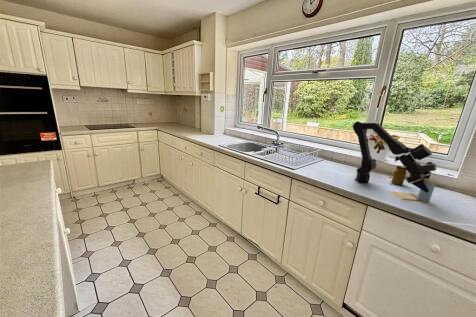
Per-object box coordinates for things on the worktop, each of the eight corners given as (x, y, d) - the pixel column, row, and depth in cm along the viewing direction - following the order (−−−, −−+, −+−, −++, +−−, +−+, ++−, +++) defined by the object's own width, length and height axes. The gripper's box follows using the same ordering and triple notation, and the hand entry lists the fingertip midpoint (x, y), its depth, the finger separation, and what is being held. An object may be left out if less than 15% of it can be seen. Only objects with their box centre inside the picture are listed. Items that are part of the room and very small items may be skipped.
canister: (421, 202, 108) (428, 181, 104) (414, 198, 113) (420, 177, 109) (431, 203, 107) (439, 182, 104) (424, 199, 112) (431, 178, 109)
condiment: (392, 181, 138) (397, 164, 135) (407, 185, 132) (413, 167, 129) (388, 183, 134) (393, 165, 130) (404, 188, 128) (410, 169, 124)
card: (403, 202, 108) (403, 201, 108) (387, 191, 120) (387, 191, 120) (433, 205, 107) (433, 204, 107) (414, 194, 120) (414, 193, 119)
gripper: (421, 159, 101) (444, 188, 96) (431, 155, 112) (453, 180, 106) (398, 169, 109) (418, 196, 104) (409, 164, 120) (428, 189, 115)
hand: (430, 190), depth 107 cm, fingers open, 8 cm apart
